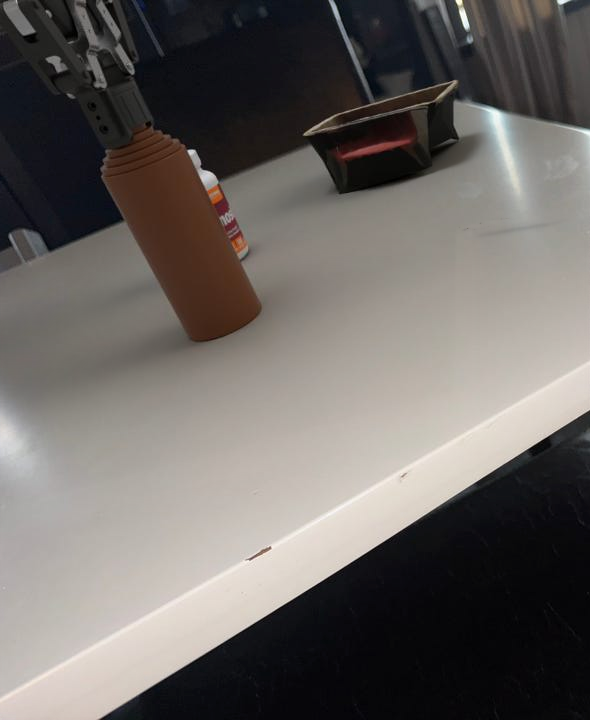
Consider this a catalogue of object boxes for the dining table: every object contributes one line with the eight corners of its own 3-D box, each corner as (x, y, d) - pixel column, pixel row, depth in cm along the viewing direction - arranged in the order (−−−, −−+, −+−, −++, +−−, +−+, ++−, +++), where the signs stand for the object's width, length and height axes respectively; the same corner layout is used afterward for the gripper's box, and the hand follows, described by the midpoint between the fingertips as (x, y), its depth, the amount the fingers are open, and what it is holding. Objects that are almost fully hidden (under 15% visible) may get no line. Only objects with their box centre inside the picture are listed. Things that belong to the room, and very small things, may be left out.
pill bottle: (242, 265, 76) (191, 158, 70) (184, 282, 76) (129, 177, 71) (256, 242, 81) (209, 141, 76) (202, 258, 82) (152, 159, 76)
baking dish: (373, 171, 101) (332, 101, 96) (492, 122, 93) (455, 43, 88) (331, 223, 90) (284, 147, 85) (463, 173, 82) (418, 86, 77)
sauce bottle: (178, 349, 62) (52, 123, 53) (199, 314, 67) (88, 104, 58) (253, 327, 61) (138, 95, 52) (268, 294, 67) (166, 79, 58)
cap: (112, 129, 58) (92, 92, 57) (159, 114, 58) (141, 76, 56) (91, 142, 55) (70, 103, 53) (141, 126, 54) (122, 86, 53)
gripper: (-1, -106, 55) (120, 130, 63) (-132, -114, 42) (41, 181, 51) (94, -141, 54) (205, 103, 62) (-11, -159, 41) (145, 148, 50)
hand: (130, 136), depth 56 cm, fingers closed on cap, 4 cm apart
